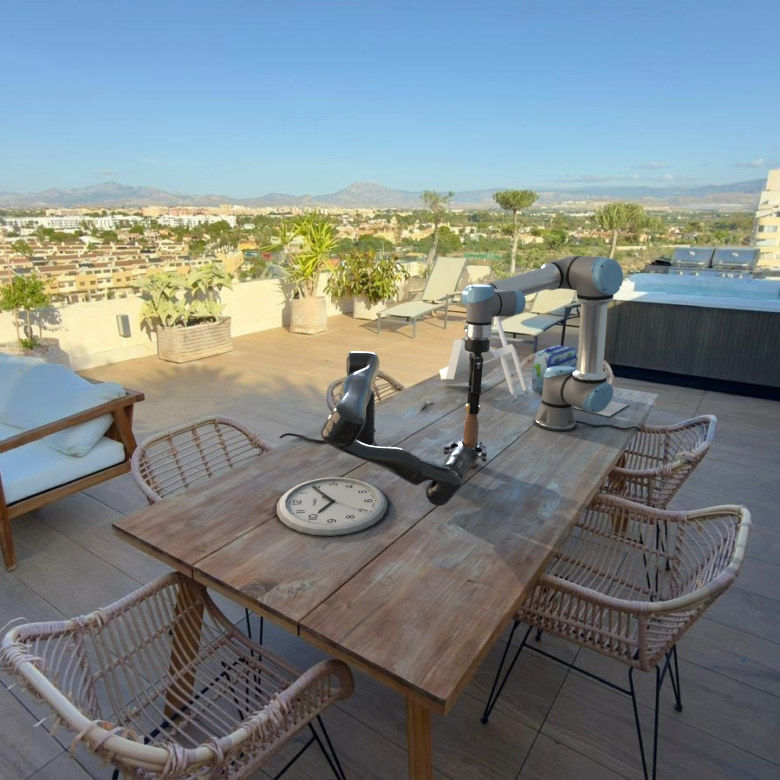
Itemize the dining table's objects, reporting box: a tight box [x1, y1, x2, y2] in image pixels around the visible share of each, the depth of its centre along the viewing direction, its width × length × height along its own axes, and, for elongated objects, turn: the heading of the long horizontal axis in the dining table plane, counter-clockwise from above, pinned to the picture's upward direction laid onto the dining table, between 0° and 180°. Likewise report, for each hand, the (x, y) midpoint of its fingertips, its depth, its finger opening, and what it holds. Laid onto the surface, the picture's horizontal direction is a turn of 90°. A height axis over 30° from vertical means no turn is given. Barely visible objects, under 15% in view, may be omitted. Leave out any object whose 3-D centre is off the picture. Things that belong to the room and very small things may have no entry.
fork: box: [420, 396, 435, 411], centre depth 223 cm, size 3×16×2 cm, turn 160°
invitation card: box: [573, 400, 629, 418], centre depth 226 cm, size 21×1×15 cm
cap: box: [465, 403, 481, 413], centre depth 163 cm, size 4×4×2 cm
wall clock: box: [276, 476, 388, 537], centre depth 142 cm, size 30×2×30 cm
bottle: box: [462, 412, 480, 468], centre depth 166 cm, size 5×5×20 cm
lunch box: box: [531, 345, 577, 394], centre depth 245 cm, size 26×11×21 cm, turn 134°
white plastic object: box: [438, 316, 531, 400], centre depth 245 cm, size 37×45×31 cm
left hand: (472, 442), depth 169 cm, fingers closed on bottle, 4 cm apart
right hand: (472, 410), depth 164 cm, fingers open, 6 cm apart
